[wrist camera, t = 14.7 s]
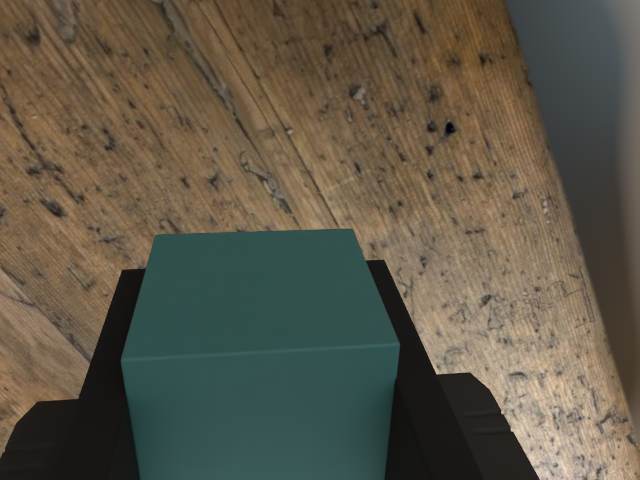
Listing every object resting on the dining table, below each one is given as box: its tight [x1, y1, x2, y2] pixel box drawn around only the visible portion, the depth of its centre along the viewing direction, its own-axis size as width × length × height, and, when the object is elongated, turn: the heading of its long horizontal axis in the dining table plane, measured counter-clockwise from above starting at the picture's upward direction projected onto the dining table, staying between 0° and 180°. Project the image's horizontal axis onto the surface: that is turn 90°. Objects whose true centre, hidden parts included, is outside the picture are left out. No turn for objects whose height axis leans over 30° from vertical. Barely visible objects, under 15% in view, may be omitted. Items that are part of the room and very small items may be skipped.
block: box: [121, 229, 400, 480], centre depth 12 cm, size 4×4×4 cm
